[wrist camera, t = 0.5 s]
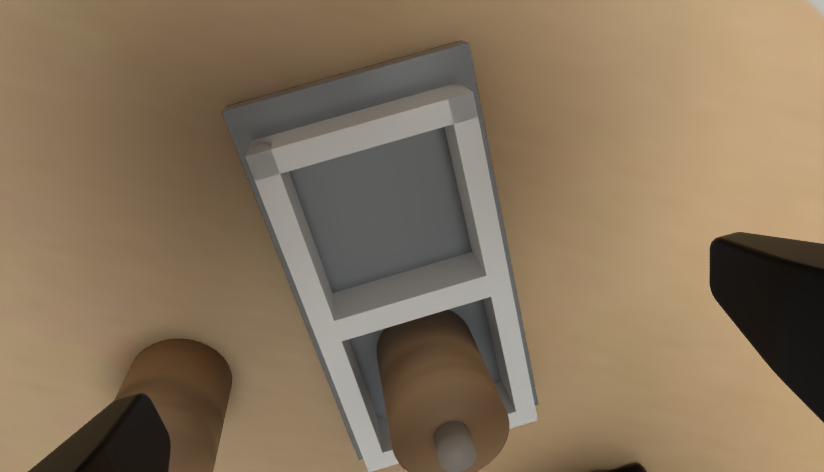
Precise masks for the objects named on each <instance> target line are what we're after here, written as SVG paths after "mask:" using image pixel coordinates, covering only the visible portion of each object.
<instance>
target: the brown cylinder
mask: <svg viewBox="0 0 824 472" xmlns="http://www.w3.org/2000/svg"><path fill="white" fill-rule="evenodd" d="M231 385H232V375H231V370H230V368H229V366H228V364H227V362H226V361H225V359H224V358H223V357H222V356H221V355H220V354H219V353H218V352H217V351H216V350H214V349H213V348H211V347H209V346H208V345H205V344H203V343H201V342H197V341H194V340H188V339H170V340H164V341H160V342H158V343H155V344H153V345H151V346H149V347H147V348H146V349H144V350H143V351H142V352H141V353H140V354H139V355H138V356H137V357H136V358H135V360H134V362H133V363H132V365H131V367H130V369H129V371H128V373H127V376H126V378H125V380H124V382H123V384H122V386H121V388H120V390H119V392H118V394H117V396H116V398H115V400H116V399H119V398H122V397H126V396H129V395H133V394H137V393H144V394H147V395H148V396H149V397H150V399H151V400H152V402H153V404H154V406H155V408H156V409H157V411H158V413H159V415H160V417H161V419H162V421H163V423H164V425H165V427H166V429H167V431H168V433H169V436H170V441H171V453H170V463H169V472H213V469H214V464H215V460H216V455H217V450H218V446H219V441H220V437H221V432H222V427H223V423H224V418H225V413H226V409H227V404H228V399H229V395H230V390H231ZM115 400H114V401H115Z"/></svg>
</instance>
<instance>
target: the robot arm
mask: <svg viewBox="0 0 824 472" xmlns="http://www.w3.org/2000/svg"><path fill="white" fill-rule="evenodd" d="M710 288H711V292H712V294H713V296H714V298H715V299H716V301H717V302H718V303H719V305H720V306H721V307H722V308H723V310H724V311H725V312H726V313H727V315H728V316H729V317H730V318H731V319H732V321H733V322H734V323H735V324H736V326H737V327H738V328H739V329H740V331H741V332H742V333H743V334H744V336H745V337H746V338H747V339H748V341H749V342H750V343H751V344H752V346H753V347H754V348H755V349H756V351H757V352H758V353H759V354H760V356H761V357H762V358H763V359H764V361H765V362H766V363H767V364H768V365H769V366H770V368H771V369H772V370H773V371H774V372H775V373H776V374H777V375H778V376H779V378H780V379H781V380H782V381H783V382H784V383H785V384H786V385H787V386H788V387H789V388H790V389H791V390H792V391H793V392H794V393H795V394H796V395H797V396H798V397H799V398H800V399H801V400H802V401H803V402H804V403H805V404H806V405H807V406H808V407H809V408H810V409H811V410H812V411H813V412H814V413H815V414H816V415H817V416H818V417H819V418H820V419H821V420H822V421H823V422H824V244H821V243H814V242H807V241H800V240H793V239H786V238H779V237H772V236H765V235H757V234H750V233H743V232H737V233H732V234H729V235H725V236H721V237H718V238H715V239H714V240H713V241H712V243H711V245H710ZM170 453H171V441H170V436H169V433H168V431H167V429H166V427H165V425H164V423H163V421H162V419H161V417H160V415H159V413H158V411H157V409H156V408H155V406H154V404H153V402H152V400H151V399H150V397H149V396H148V395H147V394H144V393H137V394H133V395H129V396H126V397H122V398H119V399H116V400H115V401H113V402H112V403H111V404H110V405H108V406H107V407H106V408H105V409H103V410H102V411H101V412H100V413H99V414H97V415H96V416H95V417H94V418H93V419H91V420H90V421H89V422H88V423H87V424H85V425H84V426H83V427H82V428H80V429H79V430H78V431H77V432H76V433H74V434H73V435H72V436H71V437H70V438H68V439H67V440H66V441H65V442H63V443H62V444H61V445H60V446H59V447H57V448H56V449H55V450H54V451H53V452H51V453H50V454H49V455H48V456H47V457H45V458H44V459H43V460H42V461H40V462H39V463H38V464H37V465H36V466H34V467H33V468H32V469H31V470H30V471H28V472H169V463H170ZM616 472H647V471H646V470H645V468H644V467H643V466H641V465H636V466H632V467H629V468H626V469H623V470H619V471H616Z"/></svg>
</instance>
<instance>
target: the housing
mask: <svg viewBox="0 0 824 472" xmlns="http://www.w3.org/2000/svg"><path fill="white" fill-rule="evenodd" d="M222 115H223V117H224V120H225V122H226V125H227V127H228V130H229V132H230V135H231V138H232V140H233V143H234V145H235V148H236V150H237V153H238V155H239V158H240V160H241V163H242V165H243V168H244V170H245V173H246V175H247V178H248V180H249V183H250V186H251V188H252V191H253V193H254V196H255V198H256V201H257V203H258V206H259V208H260V211H261V213H262V216H263V218H264V221H265V223H266V226H267V228H268V231H269V234H270V236H271V239H272V241H273V244H274V246H275V249H276V251H277V254H278V256H279V259H280V261H281V264H282V266H283V269H284V271H285V274H286V276H287V279H288V282H289V284H290V287H291V289H292V292H293V294H294V297H295V299H296V302H297V304H298V307H299V309H300V312H301V314H302V317H303V319H304V322H305V324H306V327H307V330H308V332H309V335H310V337H311V340H312V342H313V345H314V347H315V350H316V352H317V355H318V357H319V360H320V362H321V365H322V367H323V370H324V372H325V375H326V378H327V380H328V383H329V385H330V388H331V390H332V393H333V395H334V398H335V400H336V403H337V405H338V408H339V410H340V413H341V415H342V418H343V420H344V423H345V426H346V428H347V431H348V433H349V436H350V438H351V441H352V443H353V446H354V448H355V451H356V453H357V456H358V458H359V460H360V459H364V462H365V464H366V467H367V469H368V472H373V471H376V470H379V469H382V468H386V467H389V466H392V465H395V464H399V462H398V461H397V459H396V458H395V455H394V453H393V450H392V445H391V439H390V433H389V427H388V421H387V415H386V408H385V402H384V396H383V390H382V384H381V378H380V372H379V366H378V360H377V344H378V340H379V338H380V335H381V333H382V332H383V330H384V329H385V328H388V327H391V326H395V325H398V324H402V323H405V322H408V321H412V320H415V319H418V318H422V317H425V316H428V315H432V314H435V313H438V312H442V311H445V310H451V311H453V312H454V313H456V314H457V315H459V316H460V317H461V318H462V319H463V320H464V321H465V322H466V324H467V325H468V327H469V329H470V331H471V334H472V336H473V338H474V340H475V342H476V345H477V347H478V349H479V351H480V353H481V356H482V358H483V360H484V362H485V365H486V367H487V369H488V371H489V373H490V376H491V378H492V380H493V382H494V384H495V387H496V389H497V391H498V393H499V396H500V398H501V400H502V402H503V404H504V407H505V409H506V411H507V414H508V417H509V429H511V428H515V427H518V426H521V425H524V424H528V423H531V422H534V421H537V420H538V419H537V414H536V409H535V405H538V400H537V395H536V390H535V385H534V380H533V375H532V369H531V364H530V359H529V354H528V349H527V343H526V338H525V333H524V328H523V323H522V317H521V312H520V307H519V302H518V297H517V292H516V286H515V281H514V276H513V271H512V266H511V260H510V255H509V250H508V245H507V240H506V234H505V229H504V224H503V219H502V214H501V209H500V203H499V198H498V193H497V188H496V183H495V177H494V172H493V167H492V162H491V157H490V151H489V146H488V141H487V136H486V131H485V125H484V120H483V115H482V110H481V105H480V100H479V94H478V89H477V84H476V79H475V74H474V68H473V63H472V58H471V53H470V48H469V43H467V42H465V41H462V40H461V41H458V42H454V43H451V44H447V45H443V46H440V47H436V48H433V49H429V50H426V51H422V52H418V53H415V54H411V55H408V56H404V57H401V58H397V59H394V60H390V61H386V62H383V63H379V64H376V65H372V66H369V67H365V68H361V69H358V70H354V71H351V72H347V73H344V74H340V75H336V76H333V77H329V78H326V79H322V80H319V81H315V82H311V83H308V84H304V85H301V86H297V87H294V88H290V89H287V90H283V91H279V92H276V93H272V94H269V95H265V96H262V97H258V98H254V99H251V100H247V101H244V102H240V103H237V104H233V105H229V106H226V107H225V108H224V110H223V111H222Z"/></svg>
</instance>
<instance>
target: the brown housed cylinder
mask: <svg viewBox="0 0 824 472" xmlns="http://www.w3.org/2000/svg"><path fill="white" fill-rule="evenodd" d="M377 360H378V366H379V372H380V378H381V384H382V390H383V396H384V402H385V408H386V415H387V421H388V427H389V433H390V439H391V445H392V450H393V453H394V455H395V458H396V459H397V461H398V462H399V464H400V465H401V466H402V467H403V468H404V469H406V470H407V471H408V472H476V471H478V470H480V469H482V468H483V467H485V466H486V465H487V464H489V463H490V462H491V461H492V460H493V459H494V458H495V457H496V456H497V455H498V454H499V452H500V451H501V450H502V448H503V446H504V444H505V443H506V440H507V437H508V433H509V417H508V414H507V411H506V409H505V407H504V404H503V402H502V400H501V398H500V396H499V393H498V391H497V389H496V387H495V384H494V382H493V380H492V378H491V376H490V373H489V371H488V369H487V367H486V365H485V362H484V360H483V358H482V356H481V353H480V351H479V349H478V347H477V345H476V342H475V340H474V338H473V336H472V334H471V331H470V329H469V327H468V325H467V324H466V322H465V321H464V320H463V319H462V318H461V317H460V316H459V315H457V314H456V313H454V312H453V311H451V310H445V311H442V312H438V313H435V314H432V315H428V316H425V317H422V318H418V319H415V320H412V321H408V322H405V323H402V324H398V325H395V326H391V327H388V328H385V329H384V330H383V332H382V333H381V335H380V338H379V340H378V344H377Z"/></svg>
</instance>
